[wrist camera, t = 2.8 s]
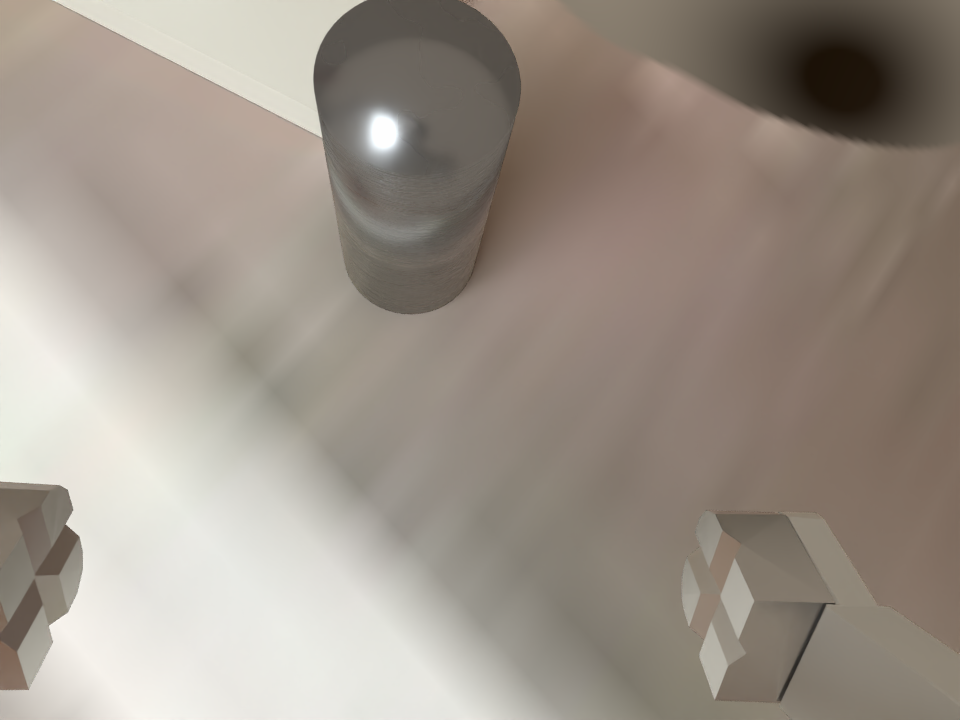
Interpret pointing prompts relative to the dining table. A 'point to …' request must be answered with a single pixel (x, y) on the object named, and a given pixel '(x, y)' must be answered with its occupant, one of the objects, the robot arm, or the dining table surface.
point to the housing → (233, 43)
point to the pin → (414, 143)
